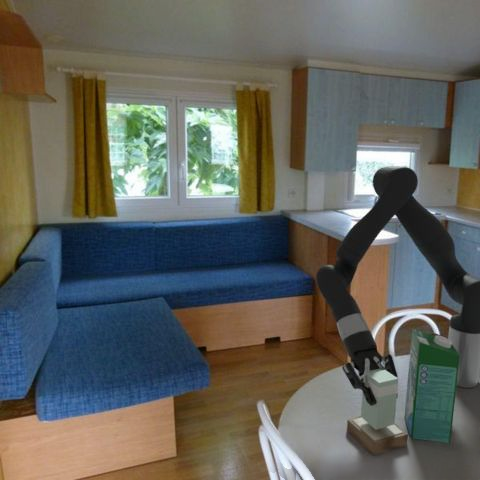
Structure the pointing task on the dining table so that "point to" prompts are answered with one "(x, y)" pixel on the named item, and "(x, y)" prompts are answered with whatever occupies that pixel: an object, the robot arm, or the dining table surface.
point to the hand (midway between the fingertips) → (384, 401)
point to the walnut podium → (377, 436)
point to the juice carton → (381, 399)
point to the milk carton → (431, 387)
